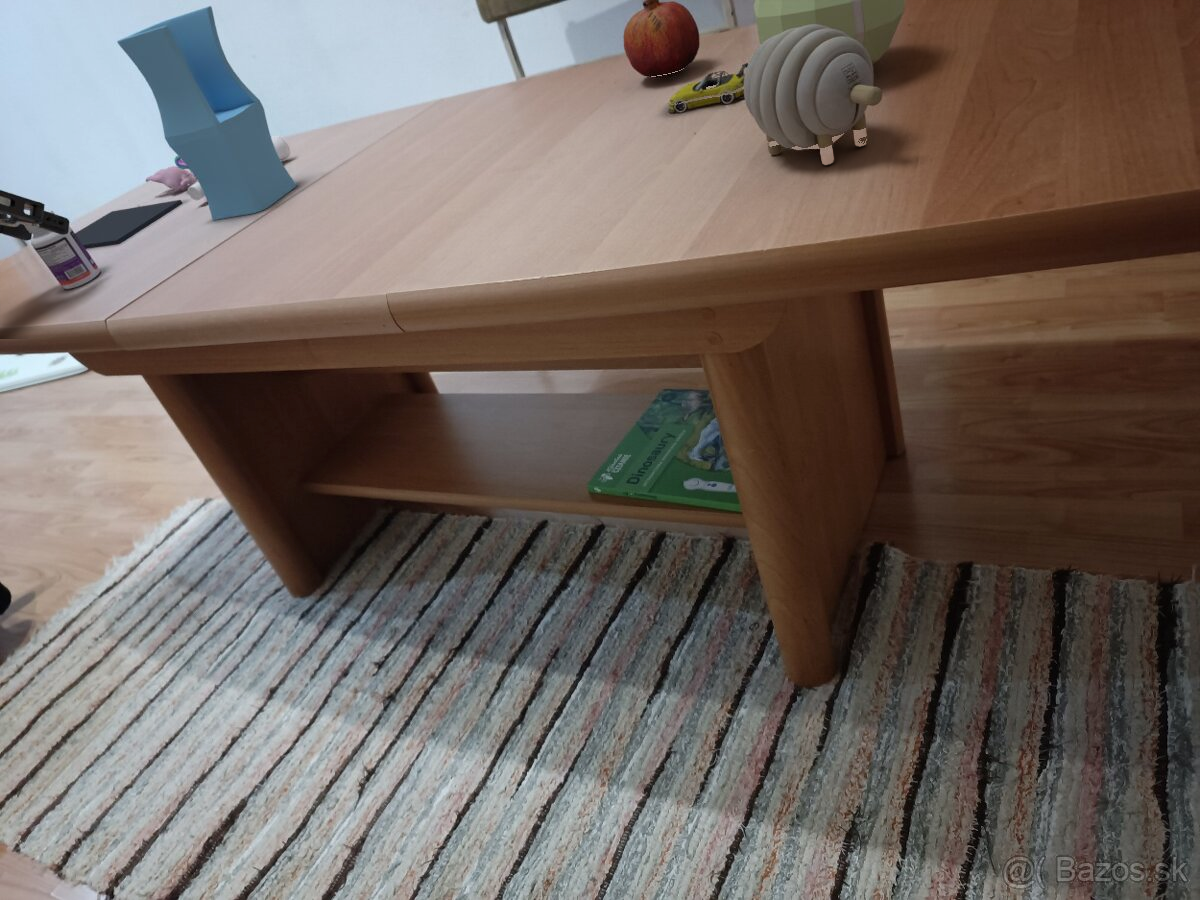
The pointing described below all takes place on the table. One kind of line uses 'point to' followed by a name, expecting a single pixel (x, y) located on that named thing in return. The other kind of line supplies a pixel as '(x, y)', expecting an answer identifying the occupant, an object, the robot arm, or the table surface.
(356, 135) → the table surface
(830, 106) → the toy sheep
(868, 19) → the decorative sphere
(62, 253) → the pill bottle
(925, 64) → the table surface
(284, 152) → the binoculars
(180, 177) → the pink figurine
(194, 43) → the vase
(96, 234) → the mat
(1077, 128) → the table surface
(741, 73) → the toy car
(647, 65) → the fruit
